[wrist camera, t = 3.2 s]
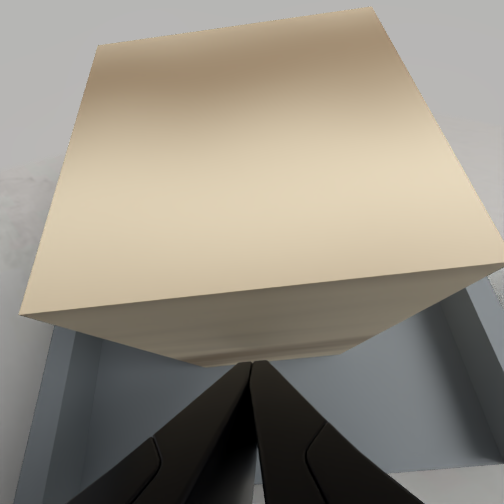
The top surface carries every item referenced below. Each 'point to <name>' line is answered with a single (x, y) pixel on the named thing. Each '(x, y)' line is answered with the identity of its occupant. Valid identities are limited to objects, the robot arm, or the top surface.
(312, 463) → the robot arm
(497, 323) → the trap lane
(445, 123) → the top surface
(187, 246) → the beech block
